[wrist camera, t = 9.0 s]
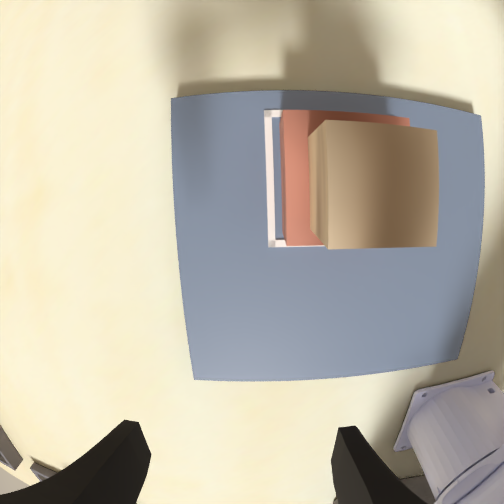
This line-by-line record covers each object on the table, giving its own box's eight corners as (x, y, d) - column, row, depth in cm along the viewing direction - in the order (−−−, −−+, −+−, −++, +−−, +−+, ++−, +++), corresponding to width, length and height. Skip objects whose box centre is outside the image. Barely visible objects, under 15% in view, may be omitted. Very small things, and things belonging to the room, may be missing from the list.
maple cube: (392, 141, 12) (437, 130, 8) (393, 227, 13) (436, 246, 9) (307, 137, 12) (325, 119, 8) (310, 228, 13) (327, 249, 9)
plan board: (472, 117, 15) (481, 115, 14) (451, 353, 19) (457, 359, 18) (175, 102, 16) (170, 97, 15) (196, 371, 20) (193, 380, 19)
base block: (383, 128, 15) (409, 118, 12) (384, 231, 16) (409, 243, 13) (279, 124, 15) (282, 109, 12) (282, 232, 17) (286, 246, 13)
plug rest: (131, 497, 26) (128, 505, 25) (154, 529, 29) (152, 535, 28) (34, 462, 27) (29, 468, 26) (64, 500, 30) (61, 505, 28)
